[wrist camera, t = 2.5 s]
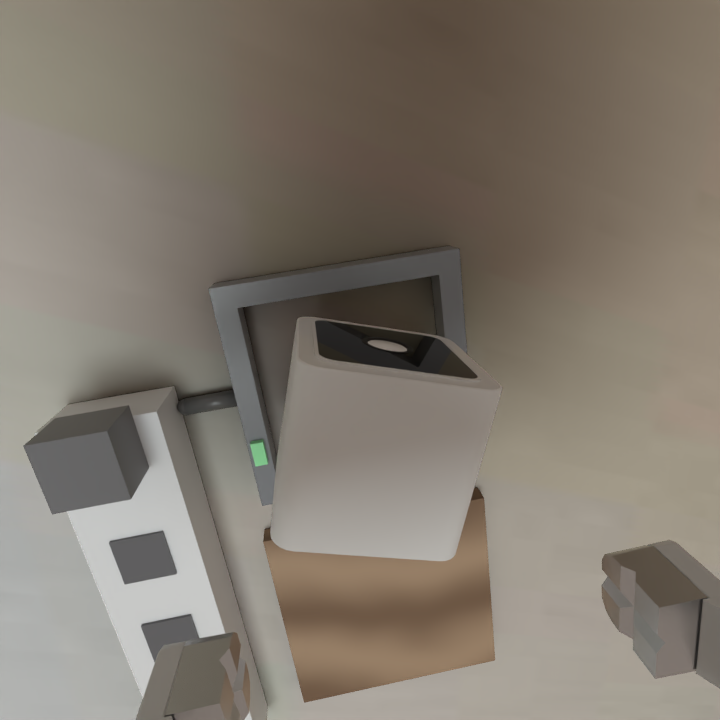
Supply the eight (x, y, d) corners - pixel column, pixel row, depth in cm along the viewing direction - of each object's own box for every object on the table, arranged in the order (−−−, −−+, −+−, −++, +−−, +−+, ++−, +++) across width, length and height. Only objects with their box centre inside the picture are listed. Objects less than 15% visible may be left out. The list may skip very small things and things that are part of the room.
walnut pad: (264, 529, 26) (263, 541, 25) (477, 487, 27) (483, 498, 26) (304, 686, 30) (304, 702, 29) (489, 646, 31) (495, 660, 30)
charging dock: (214, 283, 22) (206, 290, 20) (449, 245, 22) (461, 249, 21) (264, 488, 25) (261, 509, 24) (465, 450, 26) (477, 467, 24)
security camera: (426, 315, 23) (512, 391, 14) (398, 443, 25) (455, 584, 16) (297, 295, 22) (296, 362, 13) (278, 430, 24) (265, 573, 15)
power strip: (63, 395, 23) (-5, 451, 17) (246, 363, 23) (231, 408, 18) (187, 724, 30) (164, 831, 25) (324, 694, 30) (328, 793, 25)
